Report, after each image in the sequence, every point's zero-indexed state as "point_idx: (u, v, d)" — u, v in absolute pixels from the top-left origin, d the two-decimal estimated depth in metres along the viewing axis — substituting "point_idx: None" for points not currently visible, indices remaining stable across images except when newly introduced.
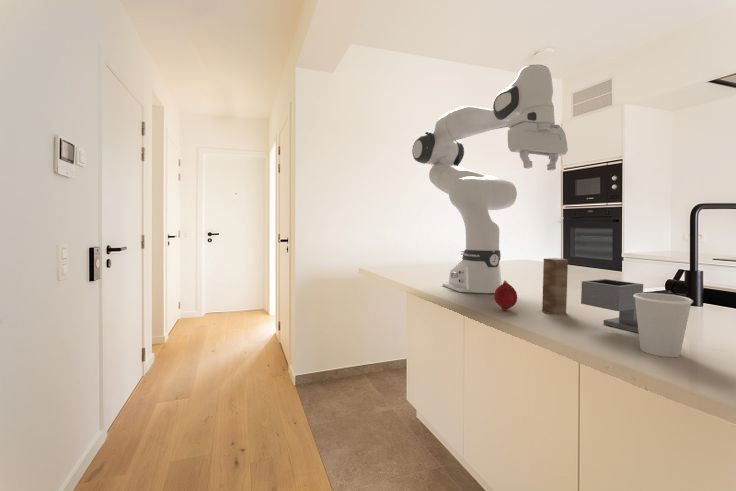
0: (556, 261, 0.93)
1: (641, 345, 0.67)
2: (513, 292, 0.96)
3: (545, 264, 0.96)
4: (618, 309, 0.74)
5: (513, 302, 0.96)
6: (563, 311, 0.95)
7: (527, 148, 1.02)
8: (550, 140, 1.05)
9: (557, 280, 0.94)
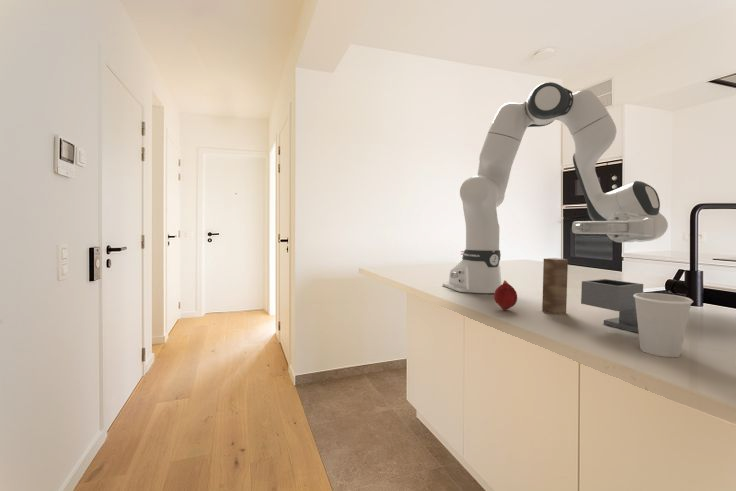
0: (556, 261, 0.93)
1: (641, 345, 0.67)
2: (513, 292, 0.96)
3: (545, 264, 0.96)
4: (618, 309, 0.74)
5: (513, 302, 0.96)
6: (563, 311, 0.95)
7: (627, 233, 0.98)
8: None
9: (557, 280, 0.94)
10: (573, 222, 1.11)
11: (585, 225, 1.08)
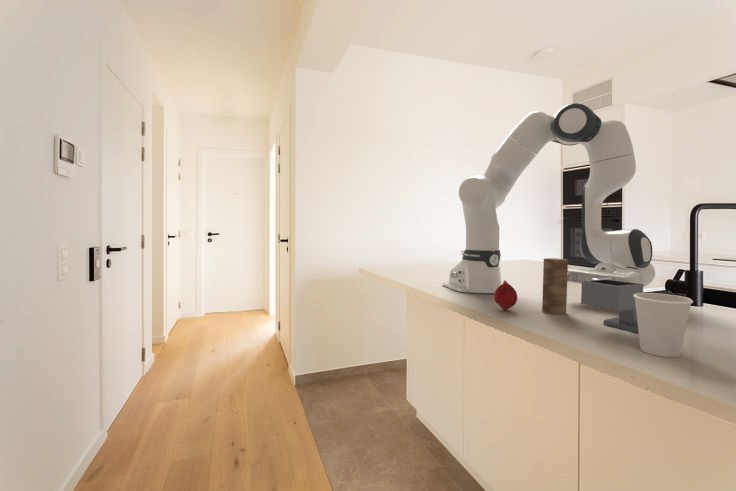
0: (556, 261, 0.93)
1: (641, 345, 0.67)
2: (513, 292, 0.96)
3: (545, 264, 0.96)
4: (618, 309, 0.74)
5: (513, 302, 0.96)
6: (563, 311, 0.95)
7: None
8: None
9: (557, 280, 0.94)
10: None
11: (571, 274, 1.07)
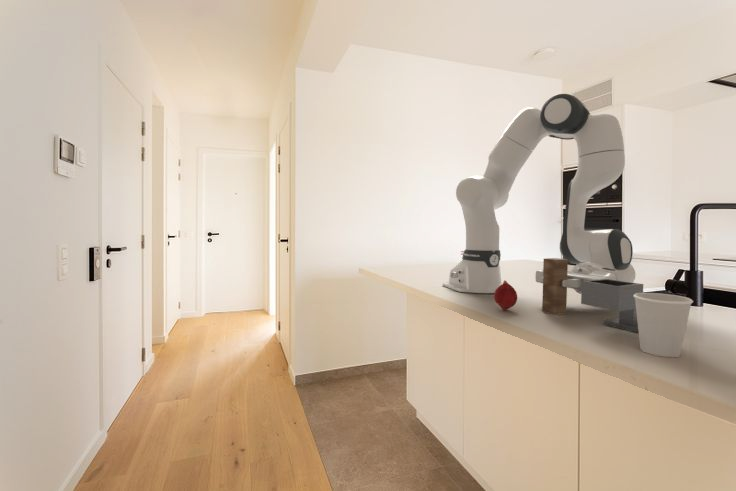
0: (556, 261, 0.93)
1: (641, 345, 0.67)
2: (513, 292, 0.96)
3: (545, 264, 0.96)
4: (618, 309, 0.74)
5: (513, 302, 0.96)
6: (563, 311, 0.95)
7: None
8: None
9: (557, 280, 0.94)
10: (536, 271, 1.06)
11: None
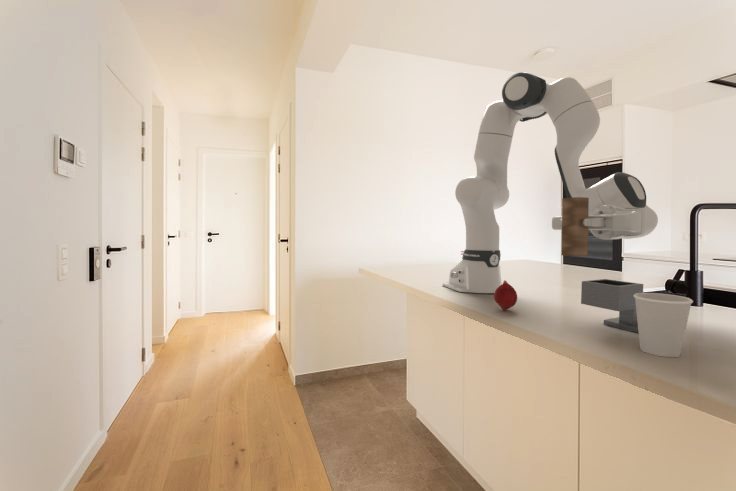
0: (576, 198, 0.87)
1: (641, 345, 0.67)
2: (513, 292, 0.96)
3: (564, 204, 0.90)
4: (618, 309, 0.74)
5: (513, 302, 0.96)
6: (584, 253, 0.89)
7: (612, 229, 0.86)
8: None
9: (578, 219, 0.87)
10: (553, 217, 0.99)
11: None
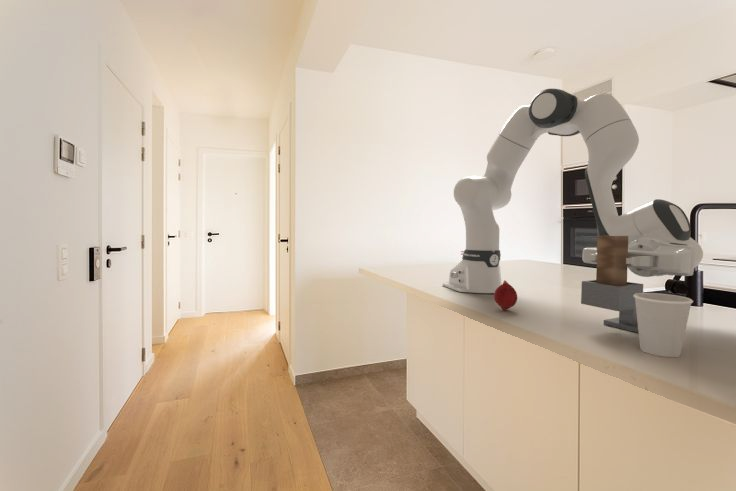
0: (615, 238, 0.76)
1: (641, 345, 0.67)
2: (513, 292, 0.96)
3: (599, 242, 0.79)
4: (618, 309, 0.74)
5: (513, 302, 0.96)
6: None
7: (657, 269, 0.75)
8: None
9: (616, 260, 0.76)
10: (584, 249, 0.88)
11: None
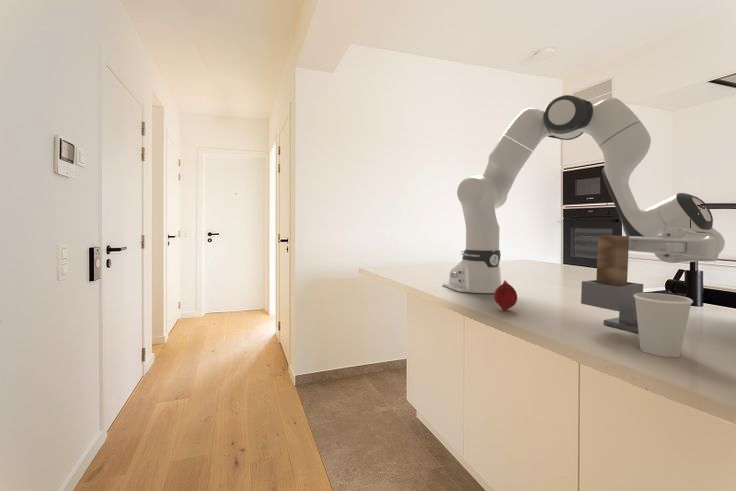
0: (616, 238, 0.76)
1: (641, 345, 0.67)
2: (513, 292, 0.96)
3: (600, 242, 0.79)
4: (618, 309, 0.74)
5: (513, 302, 0.96)
6: None
7: (685, 254, 0.82)
8: None
9: (617, 261, 0.76)
10: None
11: (629, 241, 0.92)
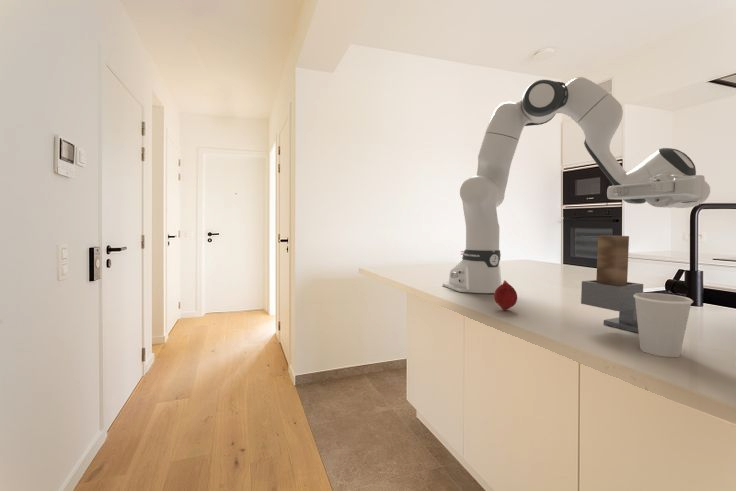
0: (616, 238, 0.76)
1: (641, 345, 0.67)
2: (513, 292, 0.96)
3: (600, 242, 0.79)
4: (618, 309, 0.74)
5: (513, 302, 0.96)
6: None
7: (673, 194, 0.90)
8: (640, 197, 0.99)
9: (617, 261, 0.76)
10: (609, 187, 1.04)
11: (623, 189, 1.00)
